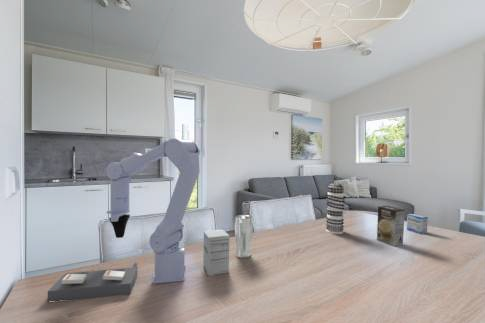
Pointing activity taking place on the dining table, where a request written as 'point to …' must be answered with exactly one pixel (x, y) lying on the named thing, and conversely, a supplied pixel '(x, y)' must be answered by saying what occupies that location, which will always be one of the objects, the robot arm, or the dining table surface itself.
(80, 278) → the rocker
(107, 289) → the switch panel
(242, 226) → the silver metal canister
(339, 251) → the dining table surface
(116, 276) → the rocker
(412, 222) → the medicine box
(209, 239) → the supplement box
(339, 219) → the striped tower model
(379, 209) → the coffee box
